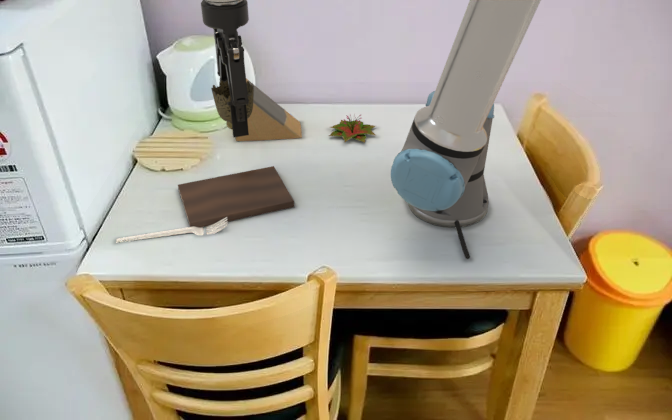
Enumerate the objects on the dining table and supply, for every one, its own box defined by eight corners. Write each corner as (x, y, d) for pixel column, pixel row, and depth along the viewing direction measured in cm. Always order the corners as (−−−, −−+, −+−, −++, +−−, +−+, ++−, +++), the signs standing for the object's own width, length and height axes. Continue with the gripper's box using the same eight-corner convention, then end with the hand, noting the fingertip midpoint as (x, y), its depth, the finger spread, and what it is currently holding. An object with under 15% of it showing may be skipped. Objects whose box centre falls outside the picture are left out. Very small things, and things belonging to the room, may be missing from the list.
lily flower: (337, 118, 146) (337, 101, 144) (384, 126, 143) (385, 108, 140) (319, 140, 137) (319, 122, 135) (369, 149, 134) (369, 131, 131)
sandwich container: (302, 138, 138) (300, 77, 129) (235, 141, 137) (228, 80, 128) (300, 121, 145) (298, 62, 136) (237, 124, 144) (230, 65, 135)
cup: (239, 139, 106) (235, 97, 101) (208, 130, 109) (202, 89, 104) (265, 124, 111) (262, 83, 107) (234, 115, 114) (229, 75, 110)
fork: (117, 238, 108) (115, 229, 107) (228, 223, 112) (227, 215, 111) (116, 249, 106) (113, 240, 105) (229, 233, 109) (228, 225, 108)
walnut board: (294, 207, 115) (294, 200, 115) (190, 229, 110) (189, 223, 109) (274, 171, 126) (273, 165, 125) (178, 190, 120) (177, 184, 119)
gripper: (190, -16, 103) (206, 106, 116) (212, 20, 88) (227, 155, 101) (233, -19, 105) (244, 100, 119) (261, 15, 90) (269, 147, 103)
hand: (236, 125), depth 110 cm, fingers closed on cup, 7 cm apart
